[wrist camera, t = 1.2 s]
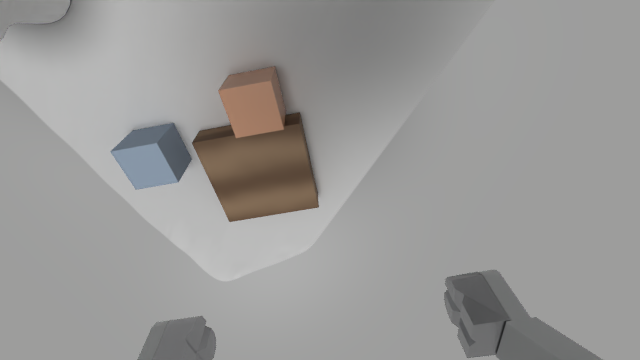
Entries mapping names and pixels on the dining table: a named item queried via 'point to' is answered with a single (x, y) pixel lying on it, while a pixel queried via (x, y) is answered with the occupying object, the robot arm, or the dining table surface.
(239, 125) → the terracotta block
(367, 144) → the dining table surface
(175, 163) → the blue block
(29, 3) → the cup
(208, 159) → the pedestal
